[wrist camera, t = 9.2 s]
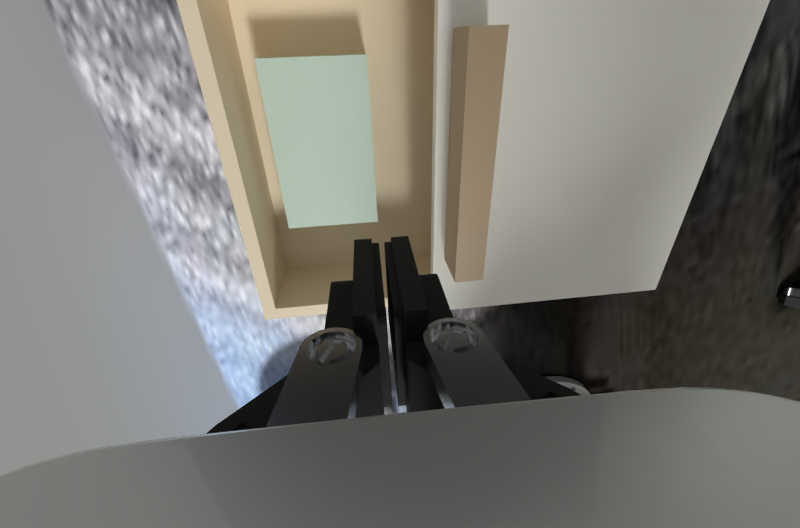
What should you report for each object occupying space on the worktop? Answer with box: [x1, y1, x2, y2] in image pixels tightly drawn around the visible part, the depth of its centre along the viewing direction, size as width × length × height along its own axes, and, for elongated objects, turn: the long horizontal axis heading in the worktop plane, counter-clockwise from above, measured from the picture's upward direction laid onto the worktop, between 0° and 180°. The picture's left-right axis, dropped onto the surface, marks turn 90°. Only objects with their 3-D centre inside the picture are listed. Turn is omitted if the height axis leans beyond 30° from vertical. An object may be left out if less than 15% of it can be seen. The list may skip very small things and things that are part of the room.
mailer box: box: [177, 0, 435, 320], centre depth 23 cm, size 16×20×6 cm
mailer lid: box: [431, 0, 770, 310], centre depth 20 cm, size 16×20×3 cm
